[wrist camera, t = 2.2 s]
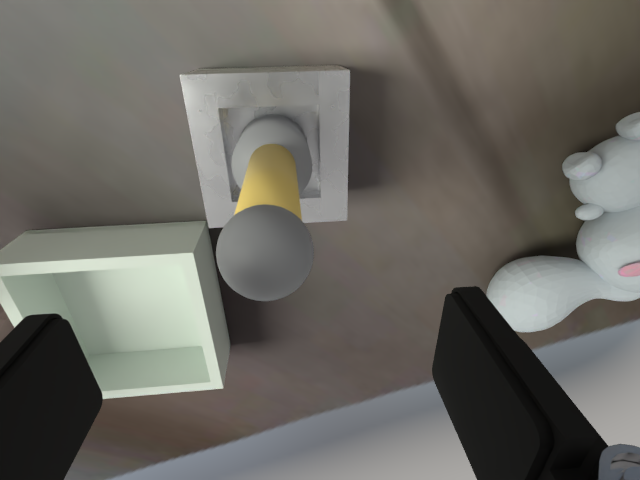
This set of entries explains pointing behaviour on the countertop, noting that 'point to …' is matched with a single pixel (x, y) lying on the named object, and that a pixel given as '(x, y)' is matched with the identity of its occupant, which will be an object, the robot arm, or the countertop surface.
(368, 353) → the countertop surface
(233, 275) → the strut
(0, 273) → the bin
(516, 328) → the toy
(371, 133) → the countertop surface
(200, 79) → the grey hollow square block
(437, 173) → the countertop surface
